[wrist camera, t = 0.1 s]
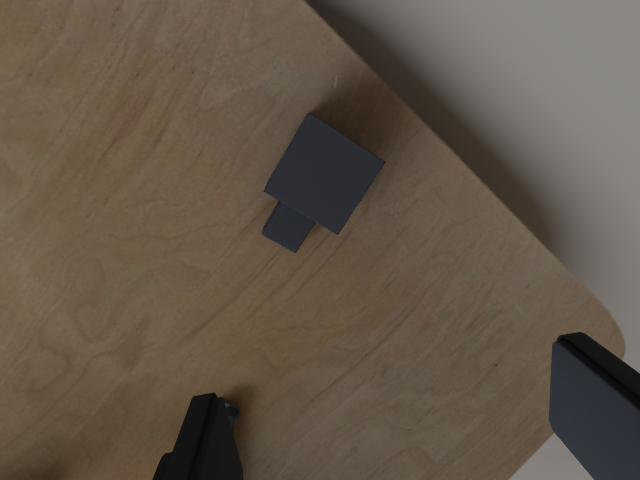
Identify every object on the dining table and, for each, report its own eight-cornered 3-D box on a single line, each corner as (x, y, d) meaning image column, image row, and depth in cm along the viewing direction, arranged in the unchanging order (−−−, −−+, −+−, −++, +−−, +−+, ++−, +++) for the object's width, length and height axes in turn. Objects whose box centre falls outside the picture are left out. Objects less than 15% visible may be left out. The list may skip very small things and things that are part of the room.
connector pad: (246, 218, 31) (239, 232, 27) (307, 113, 28) (309, 112, 25) (311, 254, 32) (313, 272, 28) (373, 156, 30) (385, 161, 26)
